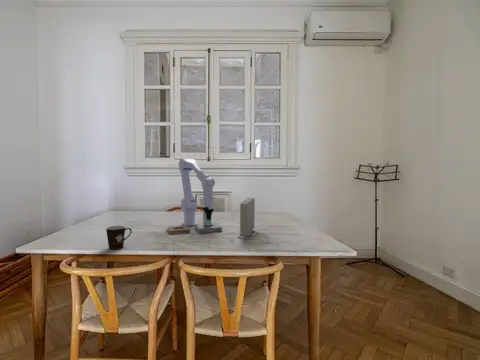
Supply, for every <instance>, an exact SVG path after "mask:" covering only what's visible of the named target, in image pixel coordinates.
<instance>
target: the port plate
mask: <svg viewBox="0 0 480 360" xmlns="http://www.w3.org/2000/svg"><path fill="white" fill-rule="evenodd" d="M194 229H195V230H196V231H197V233H198V234H202V233H205V234H206V233H216V232H217V233H219V232H220V233H221V232H223V227H222V226H221V225H220V224H219V223H218V222H211V224H210V225H204V224H203V223H195V225H194Z"/></svg>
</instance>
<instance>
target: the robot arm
mask: <svg viewBox="0 0 480 360" xmlns="http://www.w3.org/2000/svg"><path fill="white" fill-rule="evenodd" d="M178 167H179V172H180V176H181V177H180V178H181V184H182V189H183V196H184V197H183V198H182V199H181V201H180V203H181V204H180V209H181V211H182V212H183V222H182V224H183V225H182V226H188V227H190V226H195V224H196V211H197V209H198V202H197V199H196V198H195V197H194V196H193V192H192V187H191V186H192V185H191V179H190V173H191V172H192V171H193V172H194V173H195V174H196V178H197V179H198V180H199V181H200V184H201V187H202V188H201V189H202V190H203V191H202V192H203V193H202V194H203V197H202V198H203V200H202V201H203V203H202V204H201V207H202V209H203V213H206V217H207V220H211V221H212V215H213V212H214V210H215V209H214V208H213V207H214V201H213V200H214V195H213V194H214V193H213V192H214V191H213V190H214V189H213V188H214V187H215V183H216V181H215V179H214V178H213V177H211V176H209V175H208V174H207V173H206V172H205V170H202V169H200V166H199V165H198V164H197V160H195V158H180V160H179V162H178Z"/></svg>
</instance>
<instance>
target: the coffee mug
mask: <svg viewBox="0 0 480 360" xmlns="http://www.w3.org/2000/svg"><path fill="white" fill-rule="evenodd" d="M127 230H129V231H130V232H129V233H128V235H127V236H126V237H125V234H126V233H125V232H126V231H127ZM105 231H106V237H107V245H108V249H109V250H110V249H111V250H110V251H117V249H118V250H122V249H123V248H124V242H125V240H127V239H128V238H130V236H131V234H132V228H129V227H127V228H126V226H124V225H112V226H107V227H105ZM121 248H122V249H121Z"/></svg>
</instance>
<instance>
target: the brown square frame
mask: <svg viewBox="0 0 480 360" xmlns="http://www.w3.org/2000/svg"><path fill="white" fill-rule="evenodd" d="M167 232H168V235H181V234H190V233H191V229H190V226H184V225H178V226H177V225H176V226H175V225H173V226H167Z"/></svg>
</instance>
